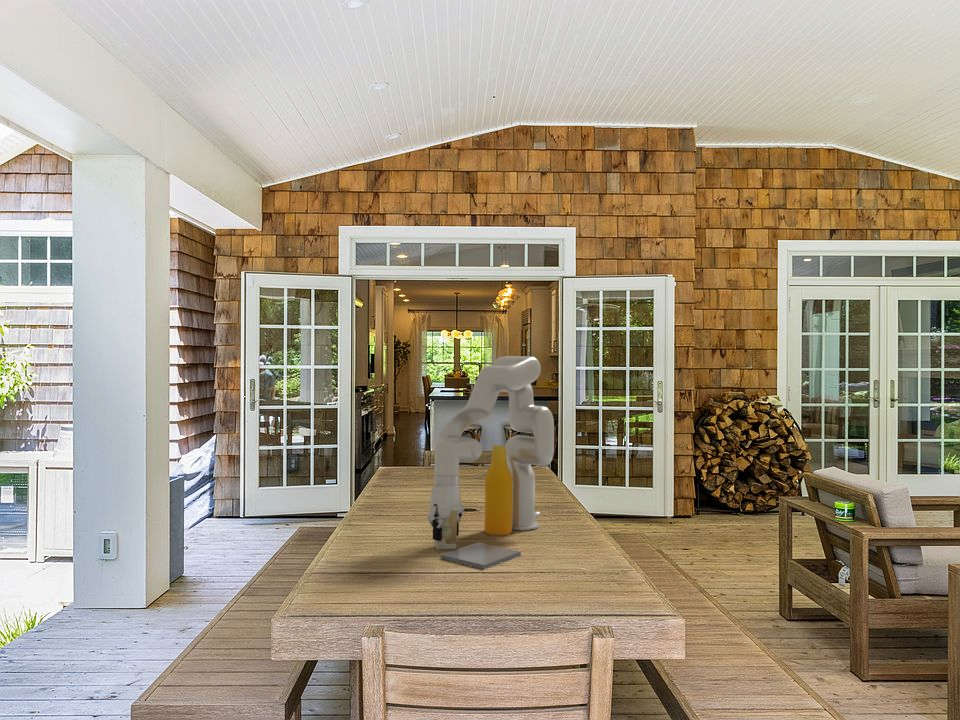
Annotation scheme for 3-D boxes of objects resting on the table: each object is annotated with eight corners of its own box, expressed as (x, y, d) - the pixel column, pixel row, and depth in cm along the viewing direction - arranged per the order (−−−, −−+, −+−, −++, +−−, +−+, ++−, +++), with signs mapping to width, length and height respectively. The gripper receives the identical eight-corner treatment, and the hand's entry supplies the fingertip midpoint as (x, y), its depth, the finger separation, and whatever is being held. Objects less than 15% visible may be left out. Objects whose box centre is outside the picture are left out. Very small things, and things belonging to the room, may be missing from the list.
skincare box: (436, 550, 214) (437, 510, 214) (434, 546, 218) (434, 507, 218) (457, 549, 215) (458, 509, 215) (454, 545, 219) (454, 506, 219)
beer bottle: (509, 536, 231) (510, 448, 231) (481, 535, 233) (483, 447, 233) (513, 530, 240) (514, 445, 240) (487, 528, 242) (488, 444, 242)
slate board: (478, 546, 219) (478, 542, 219) (520, 555, 209) (520, 551, 209) (440, 558, 205) (440, 554, 205) (484, 569, 195) (484, 565, 195)
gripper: (455, 475, 226) (454, 530, 226) (418, 482, 212) (417, 541, 212) (473, 477, 221) (472, 534, 221) (437, 485, 207) (436, 545, 207)
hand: (445, 537), depth 217 cm, fingers closed on skincare box, 7 cm apart
